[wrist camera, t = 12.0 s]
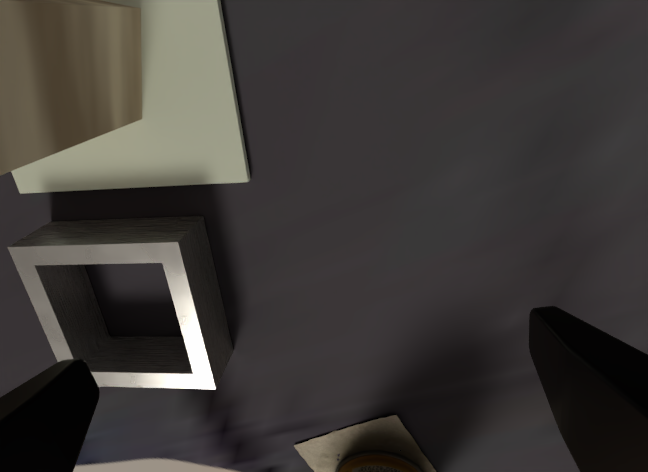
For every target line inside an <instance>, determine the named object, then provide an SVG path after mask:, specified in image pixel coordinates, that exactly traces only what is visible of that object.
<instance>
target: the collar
mask: <svg viewBox="0 0 648 472" xmlns="http://www.w3.org/2000/svg"><path fill="white" fill-rule="evenodd" d="M8 249H9V252H10V254H11V256H12V258H13V261H14V263H15V265H16V267H17V270H18V272H19V274H20V277H21V279H22V281H23V283H24V286H25V288H26V290H27V293H28V295H29V297H30V299H31V302H32V304H33V306H34V309H35V311H36V313H37V315H38V318H39V320H40V322H41V325H42V327H43V329H44V331H45V334H46V336H47V338H48V341H49V343H50V345H51V347H52V350H53V352H54V354H55V356H56V359H57V361H58V362H60V361H62V360H67V359H77V358H80V359H83V360H84V361H85V362H86V363H87V365H88V367H89V369H90V371H91V373H92V375H93V377H94V379H95V381H96V383H97V385H98V386H106V387H147V388H188V389H216V387H217V385H218V383H219V381H220V379H221V377H222V375H223V372H224V370H225V368H226V366H227V364H228V362H229V360H230V357H231V355H232V353H233V346H232V342H231V338H230V333H229V329H228V324H227V320H226V315H225V311H224V306H223V302H222V297H221V293H220V288H219V284H218V279H217V275H216V271H215V266H214V262H213V257H212V253H211V248H210V244H209V239H208V235H207V230H206V226H205V221H204V217H203V216H180V217H154V218H128V219H102V220H76V221H51V222H49V223H47V224H46V225H44V226H42V227H41V228H39V229H37V230H36V231H34V232H32V233H31V234H29V235H27V236H26V237H24V238H22V239H21V240H19V241H17V242H15V243H14V244H12V245H10V246H9V247H8ZM124 263H163V267H164V271H165V274H166V278H167V281H168V285H169V288H170V292H171V296H172V299H173V303H174V306H175V310H176V313H177V317H178V321H179V324H180V328H181V331H182V335H183V337H132V336H110V335H109V332H108V330H107V327H106V324H105V321H104V319H103V316H102V313H101V310H100V308H99V305H98V302H97V299H96V297H95V294H94V291H93V288H92V286H91V283H90V280H89V277H88V275H87V272H86V269H85V266H84V264H124Z"/></svg>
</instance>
